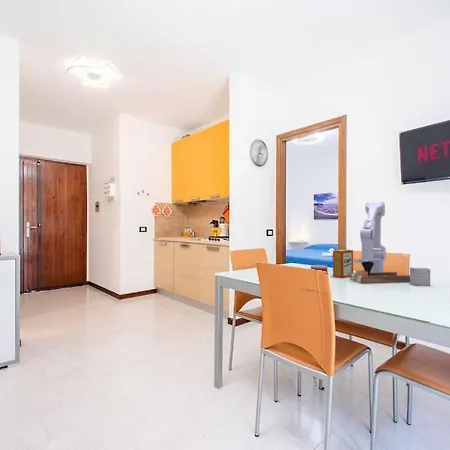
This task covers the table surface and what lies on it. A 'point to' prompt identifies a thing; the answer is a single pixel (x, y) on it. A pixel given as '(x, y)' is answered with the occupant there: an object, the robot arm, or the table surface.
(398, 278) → the wooden frame
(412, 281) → the medicine box
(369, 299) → the table surface
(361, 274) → the block
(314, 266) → the canned food
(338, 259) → the baking soda box
